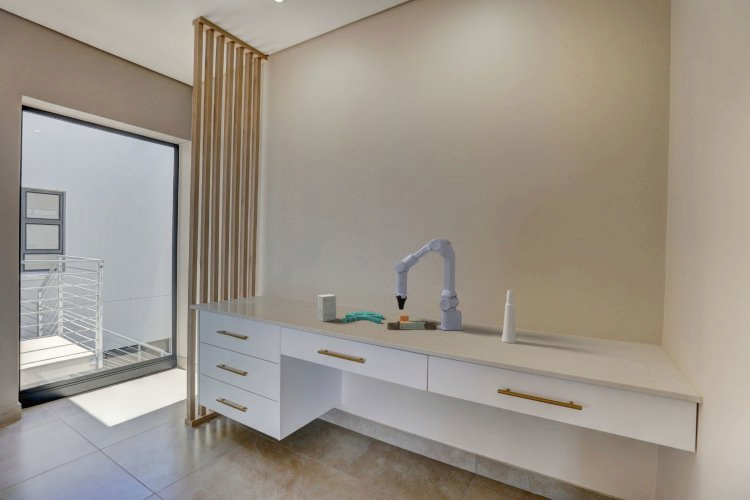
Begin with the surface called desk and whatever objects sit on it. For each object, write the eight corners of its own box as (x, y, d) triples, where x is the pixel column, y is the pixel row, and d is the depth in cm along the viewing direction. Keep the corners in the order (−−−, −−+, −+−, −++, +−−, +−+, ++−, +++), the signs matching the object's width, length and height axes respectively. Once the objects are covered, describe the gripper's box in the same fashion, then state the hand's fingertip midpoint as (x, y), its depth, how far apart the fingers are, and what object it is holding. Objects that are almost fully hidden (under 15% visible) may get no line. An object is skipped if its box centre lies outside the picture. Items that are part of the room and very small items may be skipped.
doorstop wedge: (407, 322, 182) (407, 314, 181) (409, 326, 174) (410, 317, 173) (399, 323, 181) (399, 314, 181) (401, 326, 173) (401, 317, 173)
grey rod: (424, 327, 170) (424, 322, 170) (425, 328, 169) (425, 323, 169) (400, 327, 169) (400, 322, 169) (400, 328, 168) (400, 323, 168)
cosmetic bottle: (513, 344, 146) (514, 291, 146) (499, 341, 150) (500, 290, 150) (518, 341, 151) (520, 290, 150) (504, 338, 155) (506, 288, 154)
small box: (330, 317, 191) (330, 293, 190) (336, 319, 186) (336, 295, 185) (316, 319, 186) (317, 295, 185) (322, 321, 181) (322, 296, 180)
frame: (435, 327, 171) (436, 320, 171) (436, 329, 169) (437, 321, 169) (387, 328, 169) (387, 321, 169) (387, 329, 167) (387, 322, 167)
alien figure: (381, 324, 179) (383, 315, 198) (381, 320, 178) (384, 311, 198) (342, 323, 181) (349, 314, 200) (342, 319, 180) (349, 310, 200)
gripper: (392, 282, 193) (391, 306, 194) (396, 286, 179) (395, 312, 179) (405, 282, 194) (404, 306, 194) (409, 286, 179) (409, 312, 180)
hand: (401, 309), depth 187 cm, fingers closed
